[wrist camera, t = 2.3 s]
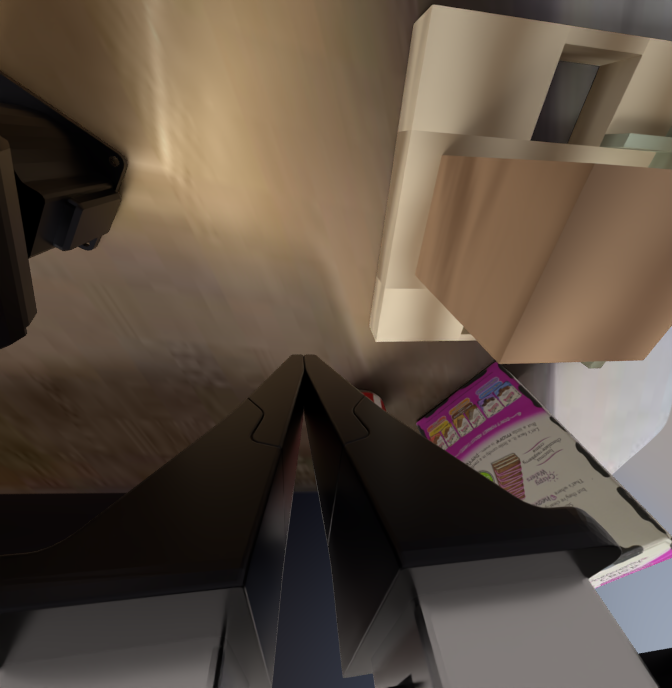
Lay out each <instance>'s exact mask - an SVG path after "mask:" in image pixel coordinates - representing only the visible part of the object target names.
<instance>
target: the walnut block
mask: <svg viewBox="0 0 672 688" xmlns="http://www.w3.org/2000/svg"><path fill="white" fill-rule="evenodd" d="M415 276H416V277H417V278H418V279H419V280H420V281H421V282H422V283H423V284H424V285H425V286H426V288H427V289H428V290H429V291H430V292H431V293H432V294H433V295H434V296H435V297H436V298H437V299H438V300H439V301H440V302H441V303H442V304H443V305H444V307H445V308H446V309H447V310H448V311H449V312H450V313H451V314H452V315H453V316H454V317H455V318H456V319H457V320H458V321H459V322H460V323H461V324H462V325H463V327H464V328H465V329H466V330H467V331H468V332H469V333H470V334H471V335H472V336H473V337H474V338H475V339H476V340H477V341H478V342H479V343H480V344H481V346H482V347H483V348H484V349H485V350H486V351H487V352H488V353H489V354H490V355H491V356H492V357H493V358H494V359H495V360H496V361H497V362H498V363H499V364H517V363H556V362H594V361H633V360H644V359H645V358H646V356H647V355H648V354H649V353H650V351H651V350H652V349H653V348H654V347H655V345H656V344H657V343H658V342H659V340H660V339H661V338H662V337H663V336H664V334H665V333H666V332H667V331H668V329H669V328H670V327H671V326H672V170H671V169H659V168H646V167H634V166H622V165H610V164H597V163H580V162H561V161H542V160H524V159H505V158H486V157H467V156H449V155H442V157H441V162H440V166H439V170H438V175H437V179H436V184H435V188H434V193H433V197H432V202H431V206H430V211H429V215H428V219H427V224H426V228H425V233H424V237H423V242H422V246H421V251H420V255H419V259H418V264H417V268H416V273H415Z"/></svg>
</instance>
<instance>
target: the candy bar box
mask: <svg viewBox="0 0 672 688" xmlns="http://www.w3.org/2000/svg"><path fill="white" fill-rule="evenodd" d="M416 424H417V426H418V428H419V431H420V433H421V435H422V436H424V437H425V438H427V439H428V440H430V441H431V442H433V443H435V444H436V445H438V446H439V447H441V448H442V449H444V450H445V451H447V452H448V453H450V454H451V455H453V456H454V457H456V458H457V459H459V460H461V461H462V462H464V463H465V464H467V465H468V466H470V467H471V468H473V469H474V470H476V471H477V472H479V473H480V474H482V475H483V476H485V477H487V478H488V479H490V480H491V481H493V482H494V483H496V484H497V485H499V486H500V487H502V488H503V489H505V490H506V491H508V492H510V493H511V494H513V495H514V496H516V497H517V498H519V499H521V500H523V501H524V502H527V503H529V504H532V505H535V506H539V507H546V508H551V507H570V506H572V507H577V508H580V509H583V510H584V511H585V512H587V513H588V514H589V515H590V516H591V517H593V518H594V519H595V520H596V521H597V522H598V523H599V524H600V525H601V526H602V527H603V528H604V529H605V530H606V531H607V532H608V533H609V534H610V535H611V536H612V538H613V539H614V540H615V541H616V542H617V544H618V545H619V546H620V547H621V549H622V554H621V556H620V557H619V558H618V559H617V560H616V561H615V562H614V563H612V564H611V565H609V566H608V567H606V568H605V569H603V570H602V571H600V572H599V573H597V574H595V575H594V576H592V577H591V578H589V579H588V580H589V581H590V583H591V584H592V586H593V587H594V589H595V588H597V587H599V586H602V585H604V584H607V583H609V582H612V581H614V580H617V579H619V578H622V577H624V576H627V575H629V574H632V573H634V572H637V571H639V570H642V569H644V568H647V567H650V566H652V565H655V564H657V563H660V562H662V561H665V560H667V559H670V558H672V536H671V535H670V534H669V533H668V532H667V531H666V530H665V529H664V528H663V527H662V526H661V525H660V524H659V523H658V522H657V520H655V518H653V516H652V515H651V514H650V513H649V512H648V511H647V510H646V509H645V508H644V507H643V506H642V505H641V504H640V503H639V502H638V501H637V500H636V499H635V498H634V497H633V496H632V495H631V494H630V493H629V492H628V491H627V490H626V489H625V488H624V487H623V486H622V485H621V484H620V483H619V482H618V481H617V480H616V479H615V478H614V477H613V476H612V475H611V474H610V473H609V472H608V471H607V470H606V469H605V468H604V467H603V466H602V465H601V464H600V463H599V462H598V461H597V460H596V459H595V458H594V457H593V456H592V455H591V454H590V453H589V452H588V451H587V450H586V449H585V448H584V447H583V446H582V445H581V443H580V442H579V441H578V440H577V439H576V438H575V437H574V436H573V435H572V434H571V433H570V432H569V431H568V430H567V429H566V428H565V427H564V426H563V425H562V424H561V423H560V422H559V421H558V420H557V419H556V418H555V417H554V416H553V415H552V414H551V413H550V412H549V411H548V410H547V409H546V408H545V407H544V406H543V405H542V404H541V403H540V402H539V401H538V400H537V399H536V398H535V397H534V396H533V395H532V394H531V393H530V392H529V391H528V390H527V389H526V388H525V387H524V386H523V385H522V384H521V383H520V382H519V381H518V380H517V379H516V378H515V377H514V376H513V375H512V374H511V373H510V372H509V371H508V370H507V369H506V368H505V367H504V366H503V365H502V364H499V363H498V362H497V361H496V362H494V363H493V364H491V365H490V366H489V367H488V368H486V369H485V370H484V371H482V372H481V373H480V374H478V375H477V376H476V377H475V378H473V379H472V380H471V381H469V382H468V383H467V384H465V385H464V386H463V387H462V388H460V389H459V390H458V391H457V392H455V393H454V394H453V395H451V396H450V397H449V398H448V399H446V400H445V401H444V402H442V403H441V404H440V405H439V406H437V407H436V408H435V409H434V410H432V411H431V412H430V413H428V414H427V415H426V416H425V417H423V418H422V419H421V420H419V421H418V422H417V423H416Z"/></svg>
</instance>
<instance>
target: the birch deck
mask: <svg viewBox="0 0 672 688" xmlns="http://www.w3.org/2000/svg"><path fill="white" fill-rule="evenodd" d="M559 60H560V61H567V62H574V63H582V64H589V65H597V66H600V67H599V70H598V72H597V75H596V77H595V79H594V82H593V84H592V87H591V89H590V91H589V94H588V96H587V98H586V101H585V103H584V106H583V108H582V110H581V113H580V115H579V118H578V120H577V122H576V125H575V127H574V129H573V132H572V134H571V137H570V139H569V141H568V144H561V143H550V142H539V141H530V140H531V137H532V134H533V131H534V128H535V126H536V123H537V120H538V117H539V114H540V112H541V109H542V106H543V103H544V101H545V98H546V95H547V92H548V89H549V87H550V84H551V81H552V78H553V75H554V73H555V70H556V67H557V64H558V61H559ZM442 155H449V156H467V157H486V158H505V159H524V160H542V161H561V162H580V163H597V164H610V165H622V166H634V167H646V168H659V169H671V170H672V41H667V40H660V39H654V38H647V37H641V36H634V35H628V34H621V33H615V32H608V31H602V30H595V29H589V28H583V27H576V26H570V25H563V24H557V23H550V22H544V21H537V20H531V19H524V18H518V17H511V16H505V15H498V14H492V13H485V12H479V11H472V10H466V9H460V8H453V7H447V6H440V5H434V4H433V5H432V6H431V7H430V8H429V9H428V10H427V11H426V12H425V13H424V14H423V15H422V16H421V17H420V18H419V19H418V20H417V21H416V22H415V23H414V25H413V32H412V39H411V45H410V52H409V59H408V66H407V72H406V79H405V86H404V93H403V100H402V106H401V113H400V120H399V127H398V133H397V140H396V147H395V154H394V160H393V167H392V174H391V181H390V187H389V194H388V201H387V208H386V214H385V221H384V228H383V235H382V241H381V248H380V255H379V262H378V268H377V275H376V282H375V289H374V296H373V302H372V309H371V316H370V323H369V327H370V329H371V332H372V334H373V336H374V339H375V341H376V342H395V341H469V340H476V339H475V338H474V337H473V336H472V335H471V334H470V333H469V332H468V331H467V330H466V329H465V328H464V327H463V325H462V324H461V323H460V322H459V321H458V320H457V319H456V318H455V317H454V316H453V315H452V314H451V313H450V312H449V311H448V310H447V309H446V308H445V307H444V305H443V304H442V303H441V302H440V301H439V300H438V299H437V298H436V297H435V296H434V295H433V294H432V293H431V292H430V291H429V290H428V289H427V288H426V286H425V285H424V284H423V283H422V282H421V281H420V280H419V279H418V278H417V277H416V276H415V273H416V268H417V264H418V259H419V255H420V251H421V246H422V242H423V237H424V233H425V228H426V224H427V219H428V215H429V211H430V206H431V202H432V197H433V193H434V188H435V184H436V179H437V175H438V170H439V166H440V162H441V157H442ZM605 362H606V361H594V362H581V363H582V364H584V365H585V366H586V367H588V368H601V367H602V366H603V364H604V363H605Z"/></svg>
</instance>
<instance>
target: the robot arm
mask: <svg viewBox="0 0 672 688" xmlns="http://www.w3.org/2000/svg"><path fill="white" fill-rule="evenodd" d="M113 157H116V158H117V159H118V161H119V166H116V165H115V164H114V162H113ZM127 165H128V163H127V160H126V158H125V157H124V156H123V155H122V154H121V153H120V152H119V151H117V150H116V149H114V148H113V147H111V146H110V145H108V144H107V143H105V142H104V141H102V140H101V139H100V138H98V137H97V136H95V135H94V134H92V133H91V132H89V131H88V130H86V129H85V128H83V127H82V126H81V125H79V124H78V123H76V122H75V121H73V120H72V119H70V118H69V117H67V116H66V115H64V114H63V113H61V112H60V111H59V110H57V109H56V108H54V107H53V106H51V105H50V104H48V103H47V102H45V101H44V100H42V99H41V98H40V97H38V96H37V95H35V94H34V93H32V92H31V91H29V90H28V89H26V88H25V87H23V86H22V85H21V84H19V83H18V82H16V81H15V80H13V79H12V78H10V77H9V76H7V75H6V74H4V73H3V72H2V71H0V349H2V348H4V347H7V346H9V345H11V344H13V343H14V342H16V341H17V340H19V339H21V338H22V337H24V336H26V334H27V330H26V327H27V326H29V325H30V323H31V321H32V320H33V318H34V317H35V315H36V313H37V309H36V303H35V297H34V291H33V285H32V279H31V273H30V267H29V261H28V259H29V258H31V257H34V256H36V255H38V254H41V253H43V252H45V251H48V250H50V249H53V248H55V247H56V248H58V249H60V250H62V251H67V250H72V249H74V248H76V247H80V248H82V249H84V250H92V249H94V248H96V247H97V246H98V243H99V240H100V238H101V236H102V235H104V234H106V233H108V232H109V230H110V228H111V225H112V222H113V220H114V217H115V215H116V212H117V210H118V207H119V204H120V202H121V196H120V193H118V190H119V188H120V185H121V183H122V180H123V177H124V175H125V172H126V169H127ZM87 242H89V243H90V245H89V244H87ZM303 413H304V415H305V421H306V427H307V432H308V438H309V444H310V449H311V455H312V460H313V466H314V472H315V477H316V483H317V488H318V494H319V499H320V505H321V510H322V516H323V521H324V527H325V533H326V538H327V544H328V550H329V556H330V563H331V570H332V579H333V588H334V598H335V608H336V616H337V627H338V636H339V646H340V655H341V665H342V674H343V677H344V678H346V677H352V676H358V675H365V674H370V673H373V676H374V683H375V688H672V648H669V649H663V650H657V651H651V652H645V653H640V654H638V653H637V651H636V650H635V648H634V647H633V645H632V644H631V642H630V641H629V639H628V638H627V636H626V635H625V633H624V632H623V631H622V629H621V627H620V626H619V624H618V623H617V622H616V620H615V619H614V617H613V616H612V614H611V613H610V611H609V610H608V608H607V607H606V605H605V604H604V602H603V601H602V599H601V598H600V596H599V595H598V593H597V592H596V590H595V589H594V587H593V586H592V584H591V583H590V581H589V580H588V579H589V578H591V577H592V576H594V575H595V574H597V573H599V572H600V571H602V570H603V569H605V568H606V567H608V566H609V565H611V564H612V563H614V562H615V561H616V560H617V559H618V558H619V557H620V556H621V554H622V549H621V547H620V546H619V545H618V544H617V542H616V541H615V540H614V539H613V538H612V536H611V535H610V534H609V533H608V532H607V531H606V530H605V529H604V528H603V527H602V526H601V525H600V524H599V523H598V522H597V521H596V520H595V519H594V518H593V517H591V516H590V515H589V514H588V513H587V512H585V511H584V510H583V509H580V508H577V507H572V506H570V507H551V508H546V507H539V506H535V505H532V504H529V503H527V502H524V501H523V500H521V499H519V498H517V497H516V496H514V495H513V494H511V493H510V492H508V491H506V490H505V489H503V488H502V487H500V486H499V485H497V484H496V483H494V482H493V481H491V480H490V479H488V478H487V477H485V476H483V475H482V474H480V473H479V472H477V471H476V470H474V469H473V468H471V467H470V466H468V465H467V464H465V463H464V462H462V461H461V460H459V459H457V458H456V457H454V456H453V455H451V454H450V453H448V452H447V451H445V450H444V449H442V448H441V447H439V446H438V445H436V444H435V443H433V442H431V441H430V440H428V439H427V438H425V437H424V436H422V435H421V434H419V433H418V432H416V431H415V430H413V429H412V428H410V427H409V426H407V425H405V424H404V423H402V422H401V421H399V420H398V419H396V418H395V417H393V416H392V415H390V414H389V413H388V412H386V411H385V410H383V409H382V408H381V407H379V406H378V405H377V404H375V403H374V402H373V401H372V400H370V399H369V398H368V397H367V396H365V395H364V394H362V393H361V392H360V391H359V390H358V389H356V388H355V387H354V386H353V385H352V384H350V383H349V382H348V381H347V380H345V379H344V378H343V377H342V376H341V375H339V374H338V373H337V372H336V371H334V370H333V369H332V368H331V367H330V366H328V365H327V364H326V363H325V362H324V361H322V360H321V359H320V358H319V357H317V356H316V355H304V357H303V355H291V356H290V357H289V358H288V359H287V360H286V361H285V362H284V363H283V364H282V365H281V366H280V367H279V368H278V369H277V370H276V371H275V372H274V373H273V374H272V375H271V376H270V377H269V378H268V379H267V380H265V381H264V382H263V383H262V384H261V385H260V386H259V387H258V388H257V389H256V390H255V391H254V392H253V393H252V394H251V395H250V396H249V397H248V398H247V399H246V400H244V401H243V402H242V403H241V404H240V405H239V406H238V407H237V408H236V409H235V410H234V411H233V412H232V413H231V414H229V415H228V416H227V417H226V418H224V419H223V420H222V421H221V422H219V423H218V424H217V425H216V426H214V427H213V428H212V429H210V430H209V431H208V432H207V433H205V434H204V435H203V436H201V437H200V438H199V439H197V440H196V441H195V442H193V443H192V444H191V445H189V446H188V447H187V448H186V449H184V450H183V451H182V452H180V453H179V454H178V455H176V456H175V457H174V458H172V459H171V460H170V461H169V462H167V463H166V464H165V465H163V466H162V467H161V468H159V469H158V470H157V471H155V472H154V473H153V474H151V475H150V476H149V477H148V478H146V479H145V480H144V481H142V482H141V483H140V484H138V485H137V486H136V487H134V488H133V489H132V490H130V491H129V492H128V493H127V494H125V495H124V496H123V497H121V498H120V499H119V500H117V501H116V502H115V503H113V504H112V505H111V506H109V507H108V508H107V509H106V510H105V511H103V512H102V513H100V514H99V515H98V516H96V517H95V518H94V519H92V520H91V521H90V522H89V523H87V524H86V525H85V526H83V527H82V528H81V529H79V530H78V531H77V532H75V533H74V534H72V535H71V536H69V537H68V538H66V539H65V540H63V541H61V542H59V543H57V544H55V545H53V546H51V547H48V548H45V549H42V550H39V551H35V552H30V553H21V554H9V555H2V556H0V688H272V679H273V668H274V658H275V648H276V637H277V627H278V617H279V606H280V596H281V585H282V576H283V567H284V558H285V548H286V543H287V535H288V527H289V520H290V512H291V505H292V497H293V490H294V482H295V475H296V467H297V460H298V452H299V444H300V437H301V429H302V422H303Z"/></svg>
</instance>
